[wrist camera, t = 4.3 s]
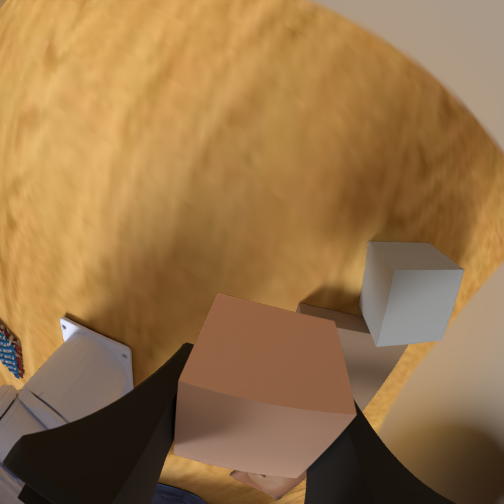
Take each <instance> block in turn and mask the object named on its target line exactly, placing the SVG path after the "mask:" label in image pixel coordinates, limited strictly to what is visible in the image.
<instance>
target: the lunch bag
mask: <svg viewBox="0 0 504 504" xmlns="http://www.w3.org/2000/svg"><path fill="white" fill-rule="evenodd" d="M151 504H206V503H205V502H204V501H203V500H202V499H200V498H199V497H197V496H195V495H193V494H191V493H189V492H187V491H184V490H181V489H177V488H173V487H170V486H166V485H163V484H158V483H157V487H156V490H155V493H154V496H153V499H152V503H151Z"/></svg>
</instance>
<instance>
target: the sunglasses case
mask: <svg viewBox="0 0 504 504" xmlns="http://www.w3.org/2000/svg"><path fill="white" fill-rule="evenodd" d="M230 476H231V477H233V478H234V479H236V480H238V481H240V482H243V483H245V484H247V485H249V486H250V487H253V488H255V489H257V490H260V491H261V492H264V493H266V494H268V495H270V496H271V497H273V498H274V499H275V500H279V499H280V498H281V497H283V495H285V494H286V493H287V492H289V491H290V490H292V489H293V488H294V487H296V486H297V485H298V484H299V483H300V482H302V481H303V480H304V479H305V478H306V477H307V475H306V470H305V471H304V472H303V473H302V474H301V475H300V476H298V477H297V478H288V477H278V476H269V475H262V474H255V473H249V472H243V471H238V470H234V471H233V472H232V473H231V474H230Z"/></svg>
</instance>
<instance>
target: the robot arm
mask: <svg viewBox="0 0 504 504" xmlns="http://www.w3.org/2000/svg"><path fill="white" fill-rule="evenodd" d="M60 323H61V328H62V333H63V338H64V343H63V344H62V345H61V346H60V347H59V348H58V349H57V350H56V351H55V352H54V353H53V354H52V356H51V357H50V358H49V359H48V360H47V361H46V362H45V363H44V364H43V365H42V366H41V367H40V368H39V370H38V371H37V372H36V373H35V374H34V375H33V376H32V377H31V378H30V379H29V381H28V382H27V383H26V384H25V385H24V386H23V387H22V389H20V390H17V389H16V388H15V387H14V386H13V385H10V386H9V385H2V386H1V387H0V504H151V503H152V499H153V496H154V493H155V490H156V487H157V483H158V480H159V477H160V474H161V471H162V468H163V465H164V462H165V459H166V457H167V454H168V452H169V449H170V447H171V445H172V443H173V441H174V436H175V419H176V405H177V392H178V380H179V378H180V376H181V374H182V371H183V369H184V367H185V365H186V362H187V360H188V358H189V356H190V353H191V351H192V349H193V347H194V344H191V343H184V344H183V345H182V346H181V348H180V349H179V350H178V351H177V352H176V353H175V354H174V355H173V356H172V357H171V358H170V359H169V360H168V361H167V362H166V363H165V364H164V365H163V366H161V367H160V368H159V369H158V370H157V371H156V372H154V373H153V374H152V375H151V376H150V377H149V378H147V379H146V380H145V381H143V382H142V383H141V384H139V385H138V386H137V387H135V388H134V386H133V372H132V352H131V349H130V348H129V347H128V346H126V345H123V344H121V343H119V342H116V341H114V340H112V339H109V338H107V337H105V336H103V335H101V334H98V333H96V332H94V331H92V330H90V329H88V328H86V327H84V326H82V325H80V324H78V323H76V322H74V321H72V320H70V319H68V318H66V317H62V318H61V319H60ZM353 399H354V398H353ZM354 404H355V409H356V414H357V415H356V416H355V418H354V419H353V420H352V421H351V422H350V424H349V425H348V426H347V427H346V428H345V429H344V431H343V432H342V433H341V434H340V435H339V436H338V437H337V438H336V439H335V441H334V442H333V443H332V444H331V445H330V446H329V447H328V448H327V449H326V450H325V451H324V452H323V453H322V454H321V455H320V456H319V457H318V458H317V459H316V460H315V461H314V462H313V463H312V464H311V465H310V466H309V467H308V468H307V469H306V475H307V478H306V494H305V503H304V504H455V503H454V502H452V501H450V500H448V499H447V498H445V497H443V496H441V495H440V494H438V493H436V492H435V491H433V490H432V489H431V488H429V487H428V486H426V485H425V484H424V483H422V482H421V481H420V480H418V478H416V477H415V476H414V475H413V474H412V473H411V472H410V471H408V469H406V468H405V467H404V466H403V465H402V464H401V463H400V462H399V461H398V460H397V458H396V457H395V456H394V455H393V454H392V453H391V452H390V450H389V449H388V448H387V447H386V446H385V444H384V443H383V442H382V440H381V439H380V438H379V436H378V435H377V434H376V432H375V431H374V430H373V428H372V427H371V425H370V424H369V422H368V421H367V419H366V418H365V416H364V414H363V413H362V411H361V410H360V408H359V406H358V405H357V403H356V402H355V400H354Z"/></svg>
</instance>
